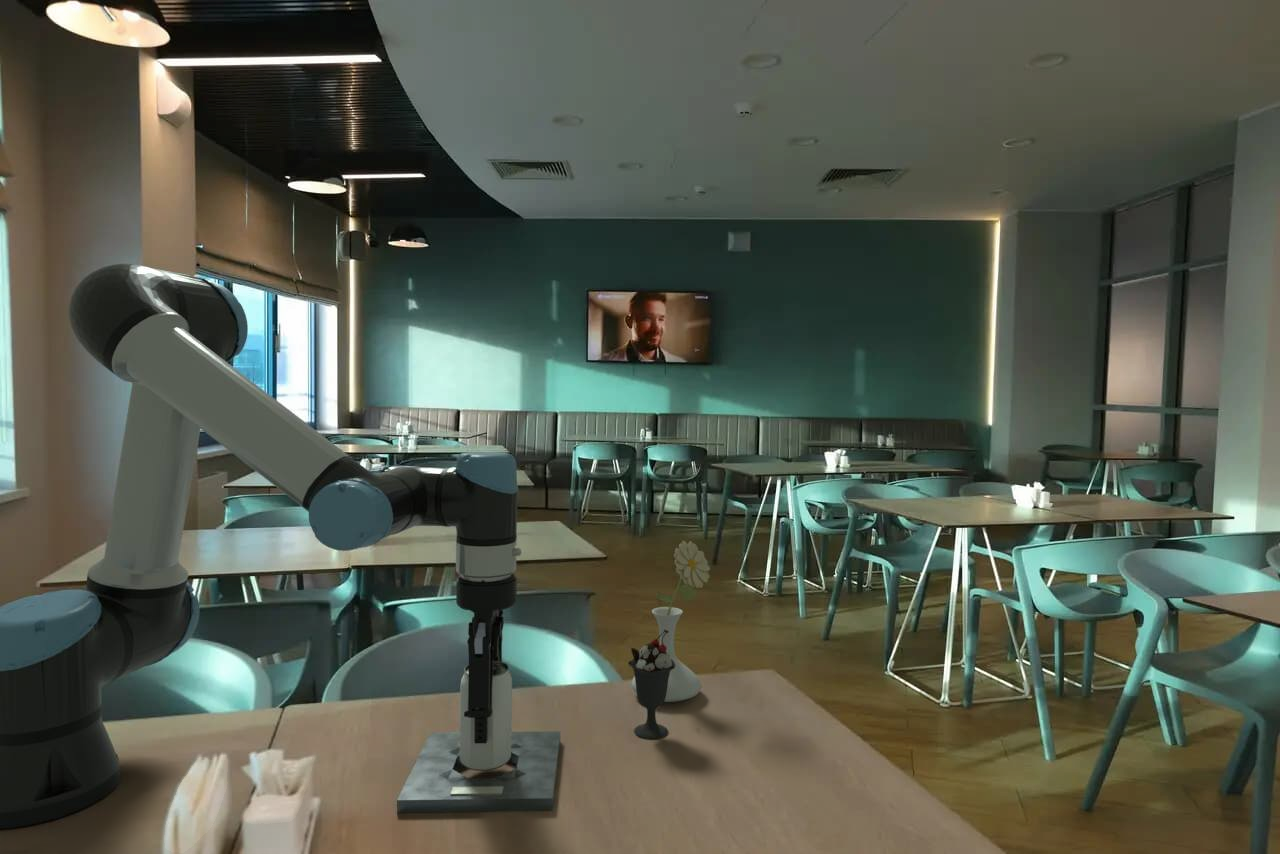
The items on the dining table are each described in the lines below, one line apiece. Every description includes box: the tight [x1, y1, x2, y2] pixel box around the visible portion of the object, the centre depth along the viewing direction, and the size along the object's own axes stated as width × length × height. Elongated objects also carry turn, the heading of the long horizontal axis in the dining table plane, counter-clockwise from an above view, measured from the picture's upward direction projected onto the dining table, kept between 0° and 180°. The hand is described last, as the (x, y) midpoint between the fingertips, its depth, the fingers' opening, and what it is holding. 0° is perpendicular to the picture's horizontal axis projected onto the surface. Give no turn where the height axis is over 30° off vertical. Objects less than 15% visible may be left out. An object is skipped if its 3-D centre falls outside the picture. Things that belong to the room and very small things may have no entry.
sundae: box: [627, 630, 675, 740], centre depth 114 cm, size 7×7×15 cm
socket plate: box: [396, 730, 561, 814], centre depth 101 cm, size 18×18×2 cm
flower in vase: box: [630, 540, 711, 703], centre depth 127 cm, size 13×11×25 cm
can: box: [459, 661, 513, 772], centre depth 100 cm, size 6×6×12 cm
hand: (485, 752), depth 101 cm, fingers closed on can, 6 cm apart
